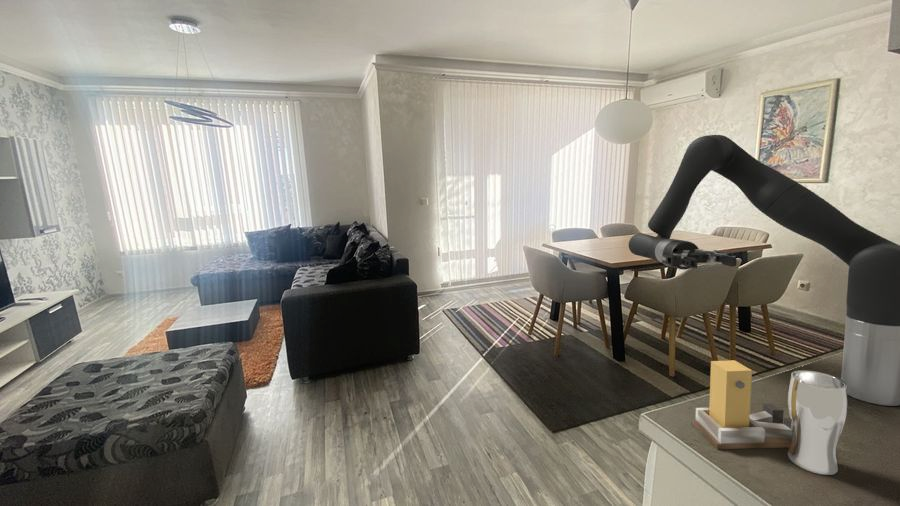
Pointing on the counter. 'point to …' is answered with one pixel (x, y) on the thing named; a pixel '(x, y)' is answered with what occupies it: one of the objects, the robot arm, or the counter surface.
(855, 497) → the counter surface
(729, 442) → the coupling board
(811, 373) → the beer glass
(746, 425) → the yellow knobbed block
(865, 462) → the counter surface
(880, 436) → the counter surface
